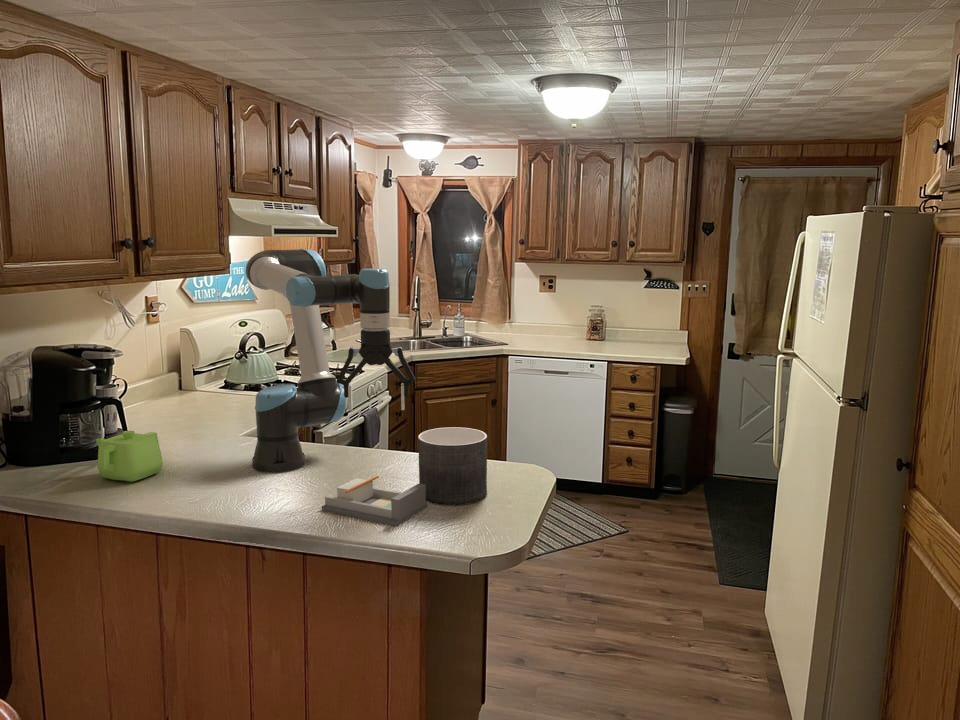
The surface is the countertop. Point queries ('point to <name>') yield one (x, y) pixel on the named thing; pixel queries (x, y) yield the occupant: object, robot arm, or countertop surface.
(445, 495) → the planter
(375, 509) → the gauge base
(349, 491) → the cream box orange strip
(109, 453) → the teapot
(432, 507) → the countertop surface
